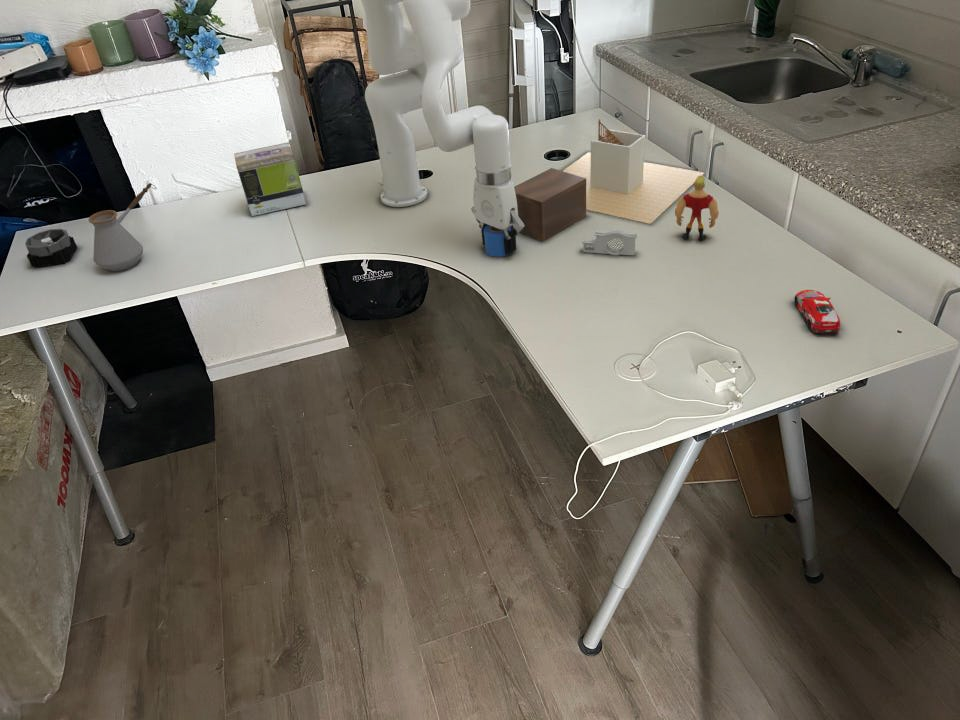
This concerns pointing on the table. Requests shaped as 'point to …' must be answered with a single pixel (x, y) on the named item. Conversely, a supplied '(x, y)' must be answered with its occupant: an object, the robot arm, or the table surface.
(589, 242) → the lattice window wall
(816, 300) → the race car
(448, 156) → the table surface
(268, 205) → the tea box
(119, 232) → the coffee pot
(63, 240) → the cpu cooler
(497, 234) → the tape
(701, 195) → the action figure
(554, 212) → the brown boxy piece
